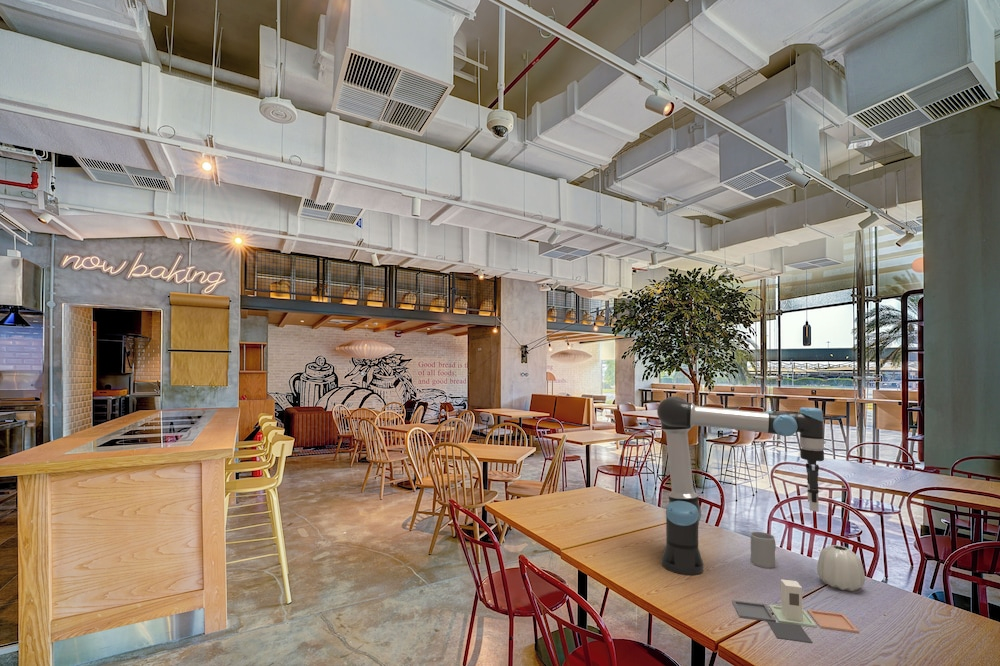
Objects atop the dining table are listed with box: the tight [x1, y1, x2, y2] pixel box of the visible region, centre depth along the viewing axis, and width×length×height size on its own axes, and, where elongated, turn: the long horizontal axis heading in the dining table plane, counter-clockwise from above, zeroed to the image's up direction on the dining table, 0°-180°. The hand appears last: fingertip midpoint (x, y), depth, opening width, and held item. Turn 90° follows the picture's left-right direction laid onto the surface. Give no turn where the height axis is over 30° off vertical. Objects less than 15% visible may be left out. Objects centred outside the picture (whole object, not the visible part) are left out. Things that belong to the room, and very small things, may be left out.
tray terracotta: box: [806, 609, 860, 634], centre depth 145 cm, size 10×10×1 cm
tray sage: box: [768, 604, 818, 629], centre depth 148 cm, size 10×10×1 cm
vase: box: [816, 544, 866, 592], centre depth 171 cm, size 14×14×13 cm
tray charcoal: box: [731, 599, 777, 622], centre depth 150 cm, size 10×10×1 cm
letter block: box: [780, 579, 804, 621], centre depth 148 cm, size 4×5×10 cm
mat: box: [766, 621, 813, 644], centre depth 139 cm, size 9×9×1 cm
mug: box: [750, 531, 777, 569], centre depth 190 cm, size 12×8×11 cm
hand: (813, 506), depth 179 cm, fingers open, 13 cm apart
